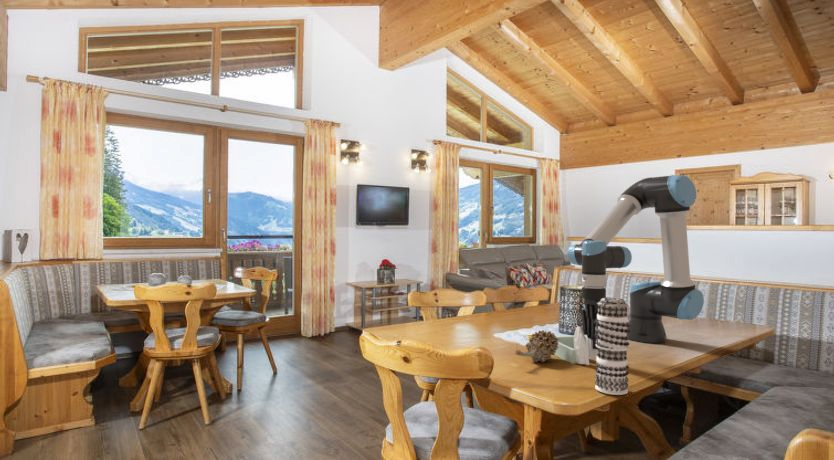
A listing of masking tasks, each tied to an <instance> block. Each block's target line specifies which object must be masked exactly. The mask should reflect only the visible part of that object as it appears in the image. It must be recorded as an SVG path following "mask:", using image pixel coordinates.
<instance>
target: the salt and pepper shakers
mask: <svg viewBox="0 0 834 460" xmlns="http://www.w3.org/2000/svg"><path fill="white" fill-rule="evenodd" d="M573 336H574V349H575V355H576V357H575V363H576V364H578V365H586V366H590V360H589V359H590V358H589V356H588V347H587V344H586V338H585V337H586V336H585V334H584V330H583V327H581V326H576V328H575V331H574V335H573Z"/></svg>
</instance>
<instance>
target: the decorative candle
mask: <svg viewBox="0 0 834 460" xmlns="http://www.w3.org/2000/svg"><path fill="white" fill-rule="evenodd" d="M597 304H598V314H597V318H596V320H595V322H594V323H595V324H596V325H597V327H595V331H596V333H595V336H596V338H597V340H596V342H595V343H596V347H597V359H596V362H595V366H596V367H595V369H594V370H595V372H596V373H595V375H594V377H595V378H594V379H595V381H594V384H595V386H594V388H595V390H596V391H598V392H601V393H602V394H606V395H613V396H623V395H627V394H628V393H629V390H628V388H629V384H628V383H629V377H628V376H629V371H628V370H629V365H628V358H627V356H628V353H627V352H628V350H629V349H630V348H629V346H630V342H628V341H629V340H630V338H629V337H628V336H627V333H629V332H630V330H629V329H627V327H630V324H629V316H628V307H630V304H627V303H626V301H625V300H624V299H623V298H621V297H620V298H619V297H606V298H602V299H601V300H600V302H599V303H597ZM597 322H598V323H597Z"/></svg>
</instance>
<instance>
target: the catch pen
mask: <svg viewBox="0 0 834 460" xmlns="http://www.w3.org/2000/svg"><path fill="white" fill-rule="evenodd" d="M556 338H557V339H559V340H558V341H557V342H558V343H559V344H558V345H557V346H558V349H557V350H555V351H556V353H555V355H554V356H556V357H558V358H560V359H562V360H564V361H566V362H568V363H570V364H572V365H573V364H576V360H575V359H576V355H575V349H574V335H563V336H562V335H560V336H556ZM585 338H586V344H587V347H588V337H587V336H585Z"/></svg>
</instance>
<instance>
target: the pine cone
mask: <svg viewBox="0 0 834 460" xmlns="http://www.w3.org/2000/svg"><path fill="white" fill-rule="evenodd" d="M556 337H557V335H555V333H553V332H552V330H548V332H547V330H538V331H535V332H534V333H532V334H531V337H530V338H529V339H528V342H527V343H526V344H525V348H526V350H527V351H526V352H525V351H522V350H520V349H519V350H518V349H515V350H514V355H516V356H520V357H531V359H532V361H533V362H535V363H536V364H537V363H538V362H540V363H543V362H546V360H547V361H548V360H550V359H552V356H556V355H555V353H556V351H555V350H557V349H558V346H557V345H558V344H559V343H558V342H557V341H558V340H559V339H557V338H556Z"/></svg>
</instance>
